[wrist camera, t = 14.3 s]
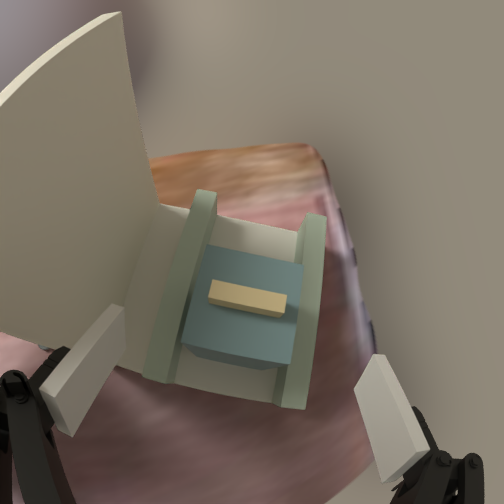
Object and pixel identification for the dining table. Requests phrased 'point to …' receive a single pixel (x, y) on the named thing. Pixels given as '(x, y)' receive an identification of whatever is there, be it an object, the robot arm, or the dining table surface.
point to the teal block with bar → (244, 309)
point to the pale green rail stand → (122, 227)
